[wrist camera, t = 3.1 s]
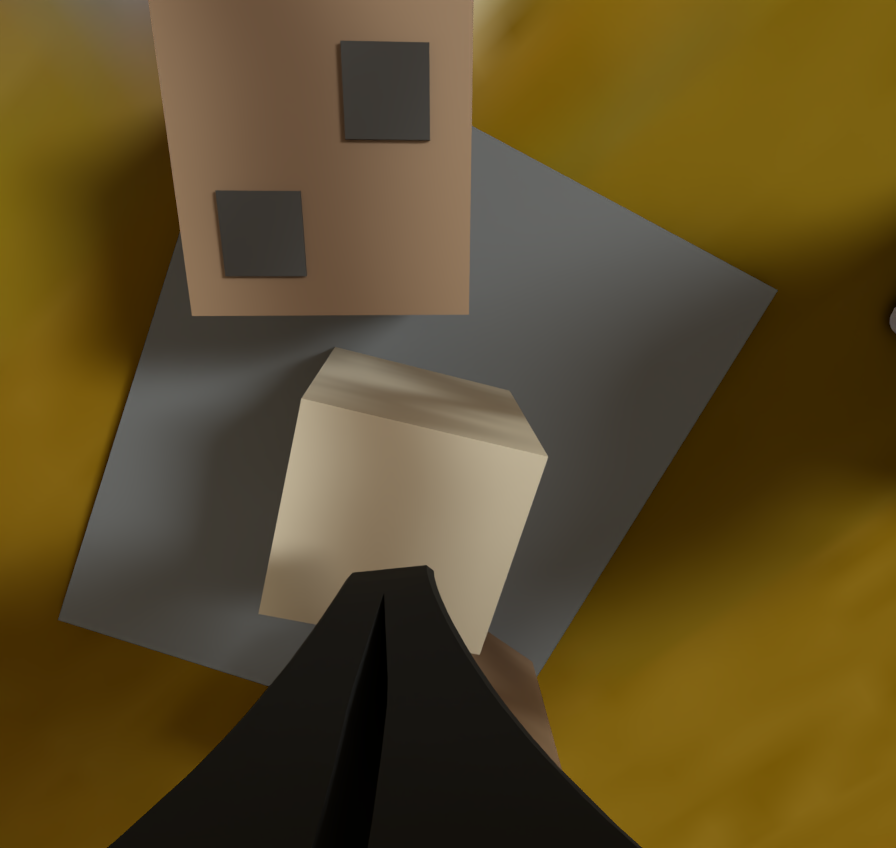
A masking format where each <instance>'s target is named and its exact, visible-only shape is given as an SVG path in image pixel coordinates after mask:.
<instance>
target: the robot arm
mask: <svg viewBox="0 0 896 848" xmlns="http://www.w3.org/2000/svg"><path fill="white" fill-rule="evenodd" d="M890 326H891V329H892V330H893V331H894V332H895V333H896V307H895V308H894V310H893V312H892V314H891V316H890ZM108 848H642V847H641V846H639V845H638V844H637V843H636V842H635V841H634V840H633V839H632V838H631V837H629V836H628V835H627V834H626V833H625V832H624V831H623V830H622V829H620V828H619V827H618V826H617V825H616V824H615V823H614V822H613V821H612V820H611V819H610V818H609V817H608V816H607V815H606V814H605V813H604V812H603V811H602V810H601V809H600V808H599V807H598V806H597V805H596V804H595V803H594V802H593V801H592V800H591V799H590V798H589V797H588V796H587V795H586V794H585V793H584V792H583V791H582V790H581V789H580V788H579V787H578V786H577V785H576V784H575V783H574V782H573V781H572V780H571V779H570V778H569V777H568V776H567V775H566V774H565V773H564V772H563V771H562V770H561V769H560V768H559V767H558V766H557V765H556V763H555V762H554V761H553V760H552V759H551V758H550V757H549V756H548V754H547V753H546V752H545V751H544V750H543V749H542V748H541V746H540V745H539V744H538V743H537V742H536V741H535V740H534V739H533V737H532V736H531V735H530V734H529V733H528V731H527V730H526V729H525V728H524V727H523V725H522V724H521V723H520V722H519V720H518V719H517V718H516V717H515V716H514V714H513V713H512V712H511V710H510V709H509V708H508V707H507V705H506V704H505V703H504V701H503V700H502V699H501V697H500V696H499V695H498V693H497V692H496V690H495V689H494V688H493V686H492V685H491V683H490V682H489V680H488V679H487V677H486V676H485V675H484V673H483V672H482V670H481V669H480V667H479V666H478V664H477V663H476V661H475V659H474V658H473V656H472V655H471V653H470V652H469V650H468V648H467V646H466V645H465V643H464V641H463V639H462V638H461V636H460V634H459V632H458V631H457V629H456V627H455V625H454V624H453V622H452V620H451V618H450V616H449V614H448V612H447V609H446V607H445V605H444V603H443V601H442V598H441V596H440V593H439V591H438V588H437V585H436V581H435V577H434V570H432V569H431V568H430V567H428V566H427V565H422V566H412V567H402V568H392V569H383V570H373V571H363V572H354V573H352V574H351V575H350V576H349V577H348V578H347V579H346V581H345V582H344V584H343V585H342V587H341V589H340V590H339V592H338V593H337V595H336V596H335V598H334V599H333V601H332V602H331V604H330V605H329V607H328V608H327V610H326V611H325V613H324V614H323V616H322V617H321V619H320V620H319V621H318V623H317V624H316V626H315V627H314V629H313V630H312V631H311V633H310V634H309V635H308V637H307V638H306V640H305V641H304V642H303V644H302V645H301V646H300V648H299V649H298V650H297V652H296V653H295V655H294V656H293V657H292V659H291V660H290V661H289V662H288V664H287V665H286V666H285V668H284V669H283V670H282V671H281V673H280V674H279V675H278V676H277V677H276V679H275V680H274V681H273V682H272V684H271V685H270V686H269V687H268V688H267V690H266V691H265V692H264V693H263V694H262V696H261V697H260V698H259V699H258V701H257V702H256V703H255V704H254V705H253V707H252V708H251V709H250V710H249V711H248V712H247V713H246V715H245V716H244V717H243V718H242V719H241V720H240V721H239V722H238V724H237V725H236V726H235V727H234V728H233V729H232V730H231V731H230V732H229V733H228V735H227V736H226V737H225V738H224V739H223V740H222V741H221V742H220V743H219V744H218V745H217V746H216V747H215V748H214V749H213V750H212V751H211V752H210V753H209V754H208V755H207V757H206V758H205V759H204V760H203V761H202V762H201V763H200V764H199V765H198V766H197V767H196V768H195V769H194V770H193V771H192V772H191V773H190V774H189V775H188V776H187V777H185V778H184V779H183V780H182V781H181V782H180V783H179V784H178V785H177V786H176V787H174V788H173V789H172V790H171V791H170V792H169V793H168V794H167V795H166V796H164V797H163V798H162V799H161V800H160V801H159V802H158V803H157V804H156V805H155V806H153V807H152V808H151V809H150V810H149V811H148V812H147V813H146V814H145V815H144V816H142V817H141V818H140V819H139V820H138V821H137V822H136V823H135V824H134V825H132V826H131V827H130V828H129V829H128V830H127V831H126V832H125V833H124V834H123V835H121V836H120V837H119V838H118V839H117V840H116V841H115V842H113V843H112V844H111V845H110V846H109V847H108Z"/></svg>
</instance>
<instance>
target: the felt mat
mask: <svg viewBox="0 0 896 848" xmlns="http://www.w3.org/2000/svg"><path fill="white" fill-rule="evenodd" d="M777 291H778V290H776V289H775V288H773V287H771V286H769V285H767V284H765V283H763V282H761V281H760V280H758V279H756V278H754V277H752V276H750V275H748V274H747V273H745V272H743V271H741V270H739V269H737V268H735V267H734V266H732V265H730V264H728V263H726V262H724V261H722V260H721V259H719V258H717V257H715V256H713V255H711V254H709V253H707V252H706V251H704V250H702V249H700V248H698V247H696V246H694V245H693V244H691V243H689V242H687V241H685V240H683V239H681V238H680V237H678V236H676V235H674V234H672V233H670V232H668V231H667V230H665V229H663V228H661V227H659V226H657V225H655V224H653V223H652V222H650V221H648V220H646V219H644V218H642V217H640V216H639V215H637V214H635V213H633V212H631V211H629V210H627V209H626V208H624V207H622V206H620V205H618V204H616V203H614V202H613V201H611V200H609V199H607V198H605V197H603V196H601V195H599V194H598V193H596V192H594V191H592V190H590V189H588V188H586V187H585V186H583V185H581V184H579V183H577V182H575V181H573V180H572V179H570V178H568V177H566V176H564V175H562V174H560V173H559V172H557V171H555V170H553V169H551V168H549V167H547V166H546V165H544V164H542V163H540V162H538V161H536V160H534V159H532V158H531V157H529V156H527V155H525V154H523V153H521V152H519V151H518V150H516V149H514V148H512V147H510V146H508V145H506V144H505V143H503V142H501V141H499V140H497V139H495V138H493V137H492V136H490V135H488V134H486V133H484V132H482V131H480V130H478V129H477V128H475V127H473V126H472V136H471V206H470V275H469V315H299V316H192V312H191V305H190V297H189V290H188V283H187V276H186V268H185V261H184V254H183V247H182V240H181V232H180V233H179V236H178V240H177V243H176V246H175V249H174V252H173V256H172V259H171V262H170V265H169V268H168V271H167V275H166V278H165V281H164V284H163V287H162V291H161V294H160V297H159V300H158V303H157V306H156V310H155V313H154V316H153V319H152V322H151V326H150V329H149V332H148V335H147V338H146V341H145V345H144V348H143V351H142V354H141V357H140V361H139V364H138V367H137V370H136V373H135V376H134V380H133V383H132V386H131V389H130V392H129V396H128V399H127V402H126V405H125V408H124V411H123V415H122V418H121V421H120V424H119V427H118V430H117V434H116V437H115V440H114V443H113V446H112V450H111V453H110V456H109V459H108V462H107V465H106V469H105V472H104V475H103V478H102V481H101V485H100V488H99V491H98V494H97V497H96V500H95V504H94V507H93V510H92V513H91V516H90V520H89V523H88V526H87V529H86V532H85V535H84V539H83V542H82V545H81V548H80V551H79V555H78V558H77V561H76V564H75V567H74V570H73V574H72V577H71V580H70V583H69V586H68V590H67V593H66V596H65V599H64V602H63V605H62V609H61V612H60V615H59V618H58V620H60V621H63V622H66V623H69V624H73V625H76V626H79V627H82V628H85V629H88V630H92V631H95V632H98V633H101V634H104V635H107V636H111V637H114V638H117V639H120V640H123V641H127V642H130V643H133V644H136V645H139V646H142V647H146V648H149V649H152V650H155V651H158V652H161V653H165V654H168V655H171V656H174V657H177V658H181V659H184V660H187V661H190V662H193V663H196V664H200V665H203V666H206V667H209V668H212V669H215V670H219V671H222V672H225V673H228V674H231V675H235V676H238V677H241V678H244V679H247V680H250V681H254V682H257V683H260V684H263V685H266V686H270V685H271V684H272V682H273V681H274V680H275V679H276V677H277V676H278V675H279V674H280V673H281V671H282V670H283V669H284V668H285V666H286V665H287V664H288V662H289V661H290V660H291V659H292V657H293V656H294V655H295V653H296V652H297V650H298V649H299V648H300V646H301V645H302V644H303V642H304V641H305V640H306V638H307V637H308V635H309V634H310V633H311V631H312V630H313V629H314V627H315V626H316V624H310V623H305V622H299V621H294V620H288V619H283V618H278V617H272V616H267V615H261V614H258V613H259V608H260V603H261V598H262V593H263V588H264V583H265V578H266V573H267V568H268V563H269V558H270V553H271V548H272V543H273V538H274V533H275V528H276V523H277V518H278V513H279V508H280V503H281V498H282V493H283V488H284V483H285V478H286V473H287V468H288V463H289V458H290V453H291V448H292V443H293V438H294V433H295V428H296V423H297V418H298V413H299V408H300V403H301V398H302V397H303V395H304V394H305V392H306V391H307V389H308V388H309V386H310V384H311V383H312V381H313V380H314V378H315V377H316V375H317V374H318V372H319V371H320V369H321V368H322V366H323V365H324V363H325V362H326V360H327V358H328V357H329V355H330V354H331V352H332V351H333V349H334V348H335V347H338V348H342V349H346V350H350V351H354V352H358V353H362V354H366V355H370V356H373V357H377V358H381V359H385V360H389V361H393V362H397V363H401V364H405V365H409V366H413V367H417V368H421V369H425V370H429V371H433V372H437V373H441V374H445V375H449V376H453V377H457V378H461V379H465V380H469V381H473V382H477V383H481V384H485V385H489V386H493V387H497V388H501V389H505V390H509V391H510V392H511V394H512V396H513V397H514V399H515V401H516V402H517V404H518V406H519V408H520V409H521V411H522V413H523V414H524V416H525V418H526V419H527V421H528V423H529V425H530V426H531V428H532V430H533V431H534V433H535V435H536V437H537V438H538V440H539V442H540V443H541V445H542V447H543V449H544V450H545V452H546V454H547V455H548V459H547V462H546V465H545V468H544V471H543V474H542V477H541V479H540V482H539V485H538V488H537V491H536V494H535V497H534V500H533V502H532V505H531V508H530V511H529V514H528V517H527V520H526V523H525V526H524V528H523V531H522V534H521V537H520V540H519V543H518V546H517V549H516V551H515V554H514V557H513V560H512V563H511V566H510V569H509V572H508V575H507V577H506V580H505V583H504V586H503V589H502V592H501V595H500V598H499V601H498V603H497V606H496V609H495V612H494V615H493V618H492V621H491V624H490V626H489V629H488V632H489V633H491V634H492V635H494V636H495V637H497V638H498V639H500V640H501V641H503V642H504V643H506V644H507V645H508V646H510V647H511V648H513V649H514V650H516V651H517V652H519V653H520V654H522V655H523V656H525V657H526V658H528V659H529V660H531V661H532V662H533V666H534V670H535V673H536V677H537V676H538V674H539V672H540V671H541V669H542V668H543V666H544V664H545V663H546V661H547V660H548V658H549V656H550V655H551V653H552V652H553V650H554V648H555V647H556V645H557V644H558V642H559V640H560V639H561V637H562V636H563V634H564V632H565V631H566V629H567V628H568V626H569V624H570V623H571V621H572V620H573V618H574V616H575V615H576V613H577V612H578V610H579V608H580V607H581V605H582V604H583V602H584V600H585V599H586V597H587V595H588V594H589V592H590V591H591V589H592V587H593V586H594V584H595V583H596V581H597V579H598V578H599V576H600V575H601V573H602V571H603V570H604V568H605V567H606V565H607V563H608V562H609V560H610V559H611V557H612V555H613V554H614V552H615V551H616V549H617V547H618V546H619V544H620V543H621V541H622V539H623V538H624V536H625V535H626V533H627V531H628V530H629V528H630V527H631V525H632V523H633V522H634V520H635V519H636V517H637V515H638V514H639V512H640V511H641V509H642V507H643V506H644V504H645V502H646V501H647V499H648V498H649V496H650V494H651V493H652V491H653V490H654V488H655V486H656V485H657V483H658V482H659V480H660V478H661V477H662V475H663V474H664V472H665V470H666V469H667V467H668V466H669V464H670V462H671V461H672V459H673V458H674V456H675V454H676V453H677V451H678V450H679V448H680V446H681V445H682V443H683V442H684V440H685V438H686V437H687V435H688V434H689V432H690V430H691V429H692V427H693V426H694V424H695V422H696V421H697V419H698V418H699V416H700V414H701V413H702V411H703V409H704V408H705V406H706V405H707V403H708V401H709V400H710V398H711V397H712V395H713V393H714V392H715V390H716V389H717V387H718V385H719V384H720V382H721V381H722V379H723V377H724V376H725V374H726V373H727V371H728V369H729V368H730V366H731V365H732V363H733V361H734V360H735V358H736V357H737V355H738V353H739V352H740V350H741V349H742V347H743V345H744V344H745V342H746V341H747V339H748V337H749V336H750V334H751V333H752V331H753V329H754V328H755V326H756V324H757V323H758V321H759V320H760V318H761V316H762V315H763V313H764V312H765V310H766V308H767V307H768V305H769V304H770V302H771V300H772V299H773V297H774V296H775V294H776V292H777Z"/></svg>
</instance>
